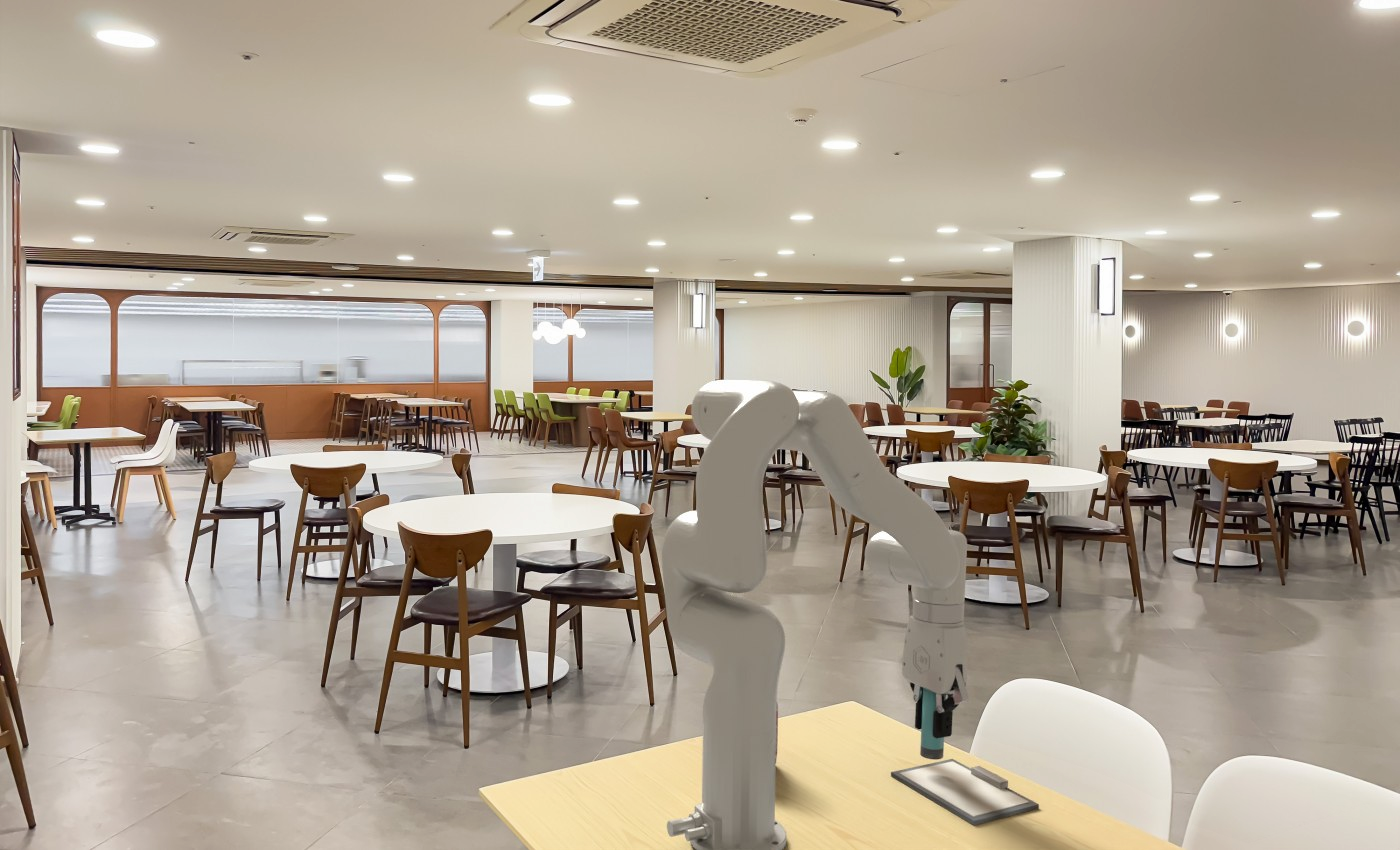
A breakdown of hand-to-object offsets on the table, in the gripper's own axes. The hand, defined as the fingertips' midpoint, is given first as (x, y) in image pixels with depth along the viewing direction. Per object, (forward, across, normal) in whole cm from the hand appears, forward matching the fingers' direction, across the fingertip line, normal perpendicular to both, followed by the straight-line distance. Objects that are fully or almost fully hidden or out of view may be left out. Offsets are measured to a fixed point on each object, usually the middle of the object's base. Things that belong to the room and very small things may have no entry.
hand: (933, 731), depth 149 cm
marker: (+4, 0, 0) cm, 4 cm away
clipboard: (+7, +6, +1) cm, 9 cm away
